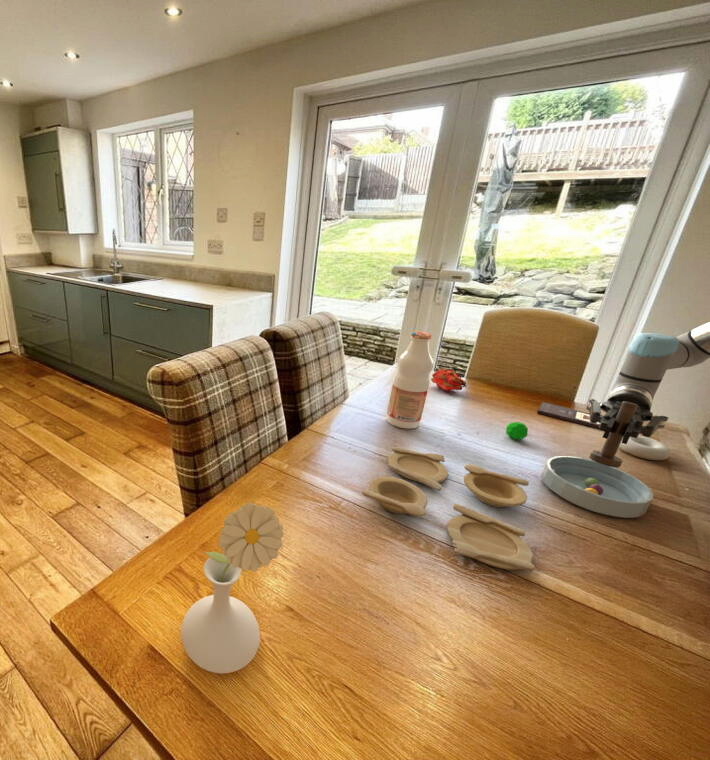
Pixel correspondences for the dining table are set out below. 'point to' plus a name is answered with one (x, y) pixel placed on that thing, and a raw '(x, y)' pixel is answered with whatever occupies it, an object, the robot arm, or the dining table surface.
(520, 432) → the polyhedron
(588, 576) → the dining table surface
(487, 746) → the dining table surface
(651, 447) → the donut
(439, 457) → the tableware set
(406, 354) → the fruit juice
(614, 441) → the brown wooden peg
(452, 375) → the dragon fruit
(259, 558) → the flower in vase
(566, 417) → the chocolate bar
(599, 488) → the bead
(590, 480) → the bead
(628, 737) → the dining table surface
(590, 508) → the bowl
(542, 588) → the dining table surface
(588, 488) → the bead
